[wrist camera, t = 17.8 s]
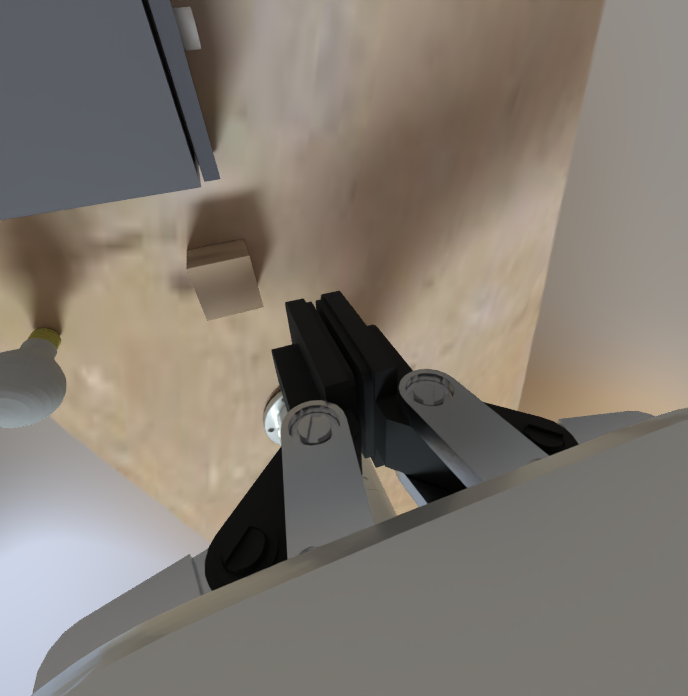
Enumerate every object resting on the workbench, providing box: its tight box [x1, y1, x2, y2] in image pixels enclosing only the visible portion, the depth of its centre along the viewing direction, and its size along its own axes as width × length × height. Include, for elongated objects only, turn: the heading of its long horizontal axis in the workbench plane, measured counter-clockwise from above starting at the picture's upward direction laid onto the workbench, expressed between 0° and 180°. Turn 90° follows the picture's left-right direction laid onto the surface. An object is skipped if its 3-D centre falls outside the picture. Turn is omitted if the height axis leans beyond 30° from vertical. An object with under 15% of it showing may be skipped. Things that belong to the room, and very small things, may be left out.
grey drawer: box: [148, 0, 220, 182], centre depth 18 cm, size 15×14×6 cm
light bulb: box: [0, 328, 66, 428], centre depth 27 cm, size 6×5×10 cm
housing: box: [0, 0, 201, 220], centre depth 18 cm, size 15×13×7 cm
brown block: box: [187, 239, 263, 321], centre depth 31 cm, size 5×5×4 cm
